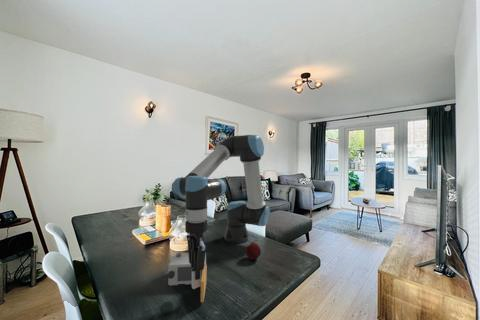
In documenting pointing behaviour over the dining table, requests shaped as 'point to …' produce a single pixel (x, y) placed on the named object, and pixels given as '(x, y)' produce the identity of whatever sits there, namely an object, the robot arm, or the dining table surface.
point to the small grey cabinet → (180, 269)
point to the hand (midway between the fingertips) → (196, 286)
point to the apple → (253, 251)
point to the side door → (203, 282)
